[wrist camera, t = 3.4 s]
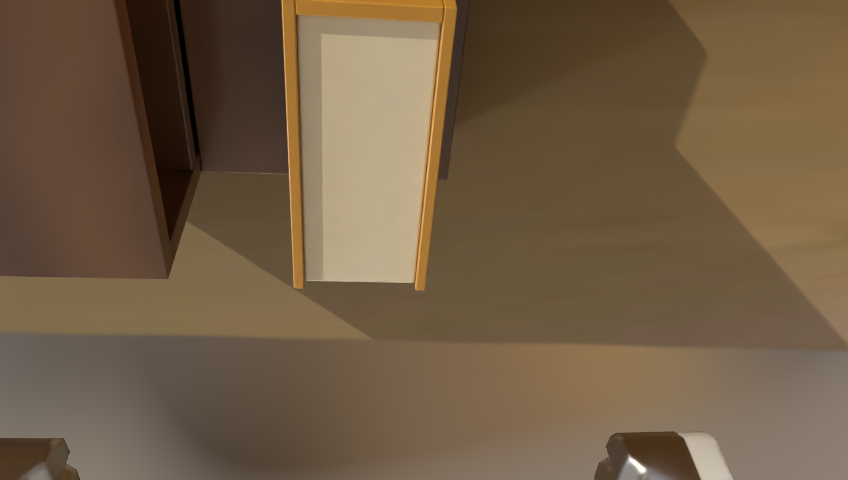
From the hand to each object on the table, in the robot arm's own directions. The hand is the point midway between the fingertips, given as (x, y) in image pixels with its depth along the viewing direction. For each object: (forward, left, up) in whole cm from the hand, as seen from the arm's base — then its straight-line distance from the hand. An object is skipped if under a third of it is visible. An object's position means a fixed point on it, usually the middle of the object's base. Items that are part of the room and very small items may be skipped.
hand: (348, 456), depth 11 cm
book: (-1, +1, -21) cm, 21 cm away
